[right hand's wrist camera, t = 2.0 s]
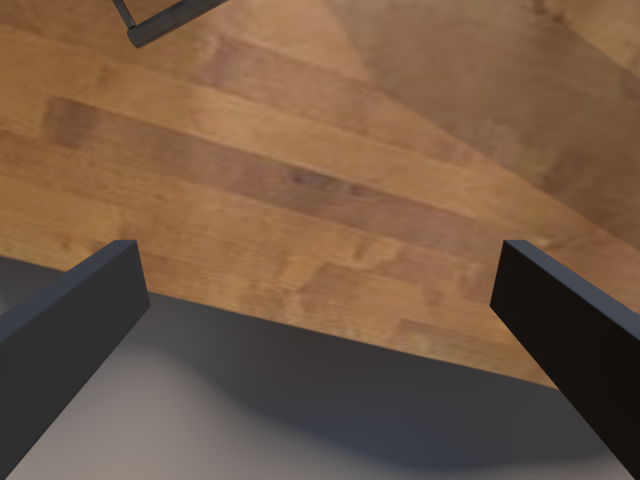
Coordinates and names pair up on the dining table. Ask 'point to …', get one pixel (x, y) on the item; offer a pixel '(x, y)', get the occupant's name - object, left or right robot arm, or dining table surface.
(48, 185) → the dining table surface
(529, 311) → the right robot arm
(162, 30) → the drawer
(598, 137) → the dining table surface
